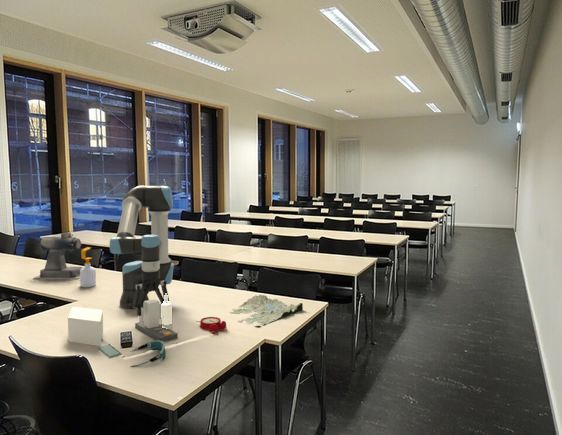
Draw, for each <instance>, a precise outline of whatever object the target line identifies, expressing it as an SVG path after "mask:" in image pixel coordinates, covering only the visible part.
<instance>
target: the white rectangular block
mask: <svg viewBox="0 0 562 435" xmlns="http://www.w3.org/2000/svg"><path fill="white" fill-rule="evenodd" d="M67 332H68V333H67V334H68V335H67V337H68V342H69V343H70V342H71V343H77V344H78V343H79V344H86V345H90V346H97V347H99V346H102V341H103V334H104V333H103V332H104V314H103V309H97V308H95V309H94V308H86V307H80V306H79V307H78V306H72V307H71V310H70V312H69V315H68V317H67Z"/></svg>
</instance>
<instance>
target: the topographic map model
mask: <svg viewBox="0 0 562 435" xmlns="http://www.w3.org/2000/svg"><path fill="white" fill-rule="evenodd" d="M303 306H304V305H303V303H302V302H299V303H297V304H295V305H294V304H292V303H291V304H289V305H287V304H286V303H284V302H283V301H281V300H279V299H277V298H275V299H271V298H268V296H267V295H264V294H259V295H254V296H252V297H251V298H248V299H247V300H246V301H244V302H243V303H242V304H241V305H239V306H238V308H231V309H232V311H228V313H230V314H231V315H233V314H234V315H240V314H243V315H244V314H245V315H246V314H247V315H248V314H250V313H251V314H250V315H249V317H246V318H245V319H244V318H243V319H241V320H238V321H237V323H241V324H242V323H244V322H245V321H246V322H245V324H247V325H253V323H257V324H259V325H253V326H254V328H258V329H259V328H261V327H263V326H267V325H269V324H271V323H274V322H276V321H279V320H281V319H284V318H287V317H288V316H289V317H290V316H292V315H294V314H297V313H299V312H301V311H302V312H303V310H304V309H303ZM242 307H243V308H242ZM245 308H246V309H245ZM296 312H297V313H296ZM252 313H253V314H252ZM291 314H292V315H291Z"/></svg>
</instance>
